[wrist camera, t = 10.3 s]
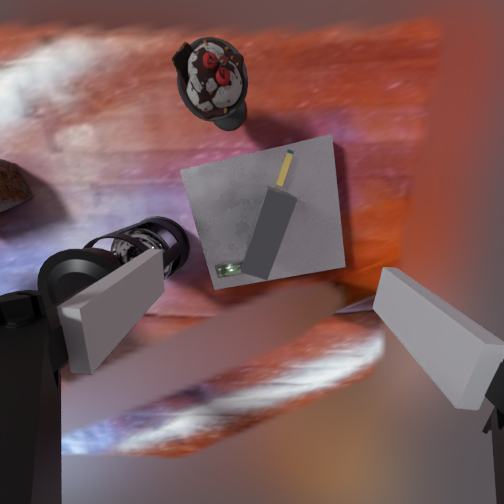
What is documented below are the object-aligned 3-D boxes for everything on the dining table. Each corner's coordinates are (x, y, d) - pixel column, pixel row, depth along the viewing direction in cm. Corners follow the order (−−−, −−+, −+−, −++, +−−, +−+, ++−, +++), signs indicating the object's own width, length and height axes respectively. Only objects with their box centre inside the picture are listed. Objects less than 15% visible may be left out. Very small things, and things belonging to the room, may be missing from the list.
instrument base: (218, 281, 39) (211, 295, 35) (186, 170, 34) (174, 169, 29) (339, 259, 37) (349, 271, 32) (325, 137, 32) (336, 131, 27)
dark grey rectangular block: (266, 254, 34) (267, 280, 25) (246, 247, 33) (240, 272, 25) (300, 157, 29) (316, 150, 21) (278, 150, 29) (284, 139, 21)
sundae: (261, 122, 32) (259, 76, 17) (218, 146, 33) (183, 122, 19) (239, 70, 30) (216, -27, 16) (194, 97, 31) (135, 30, 17)
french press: (185, 211, 36) (64, 265, 14) (199, 267, 39) (115, 386, 17) (114, 222, 37) (-102, 288, 15) (132, 276, 40) (-28, 399, 18)
